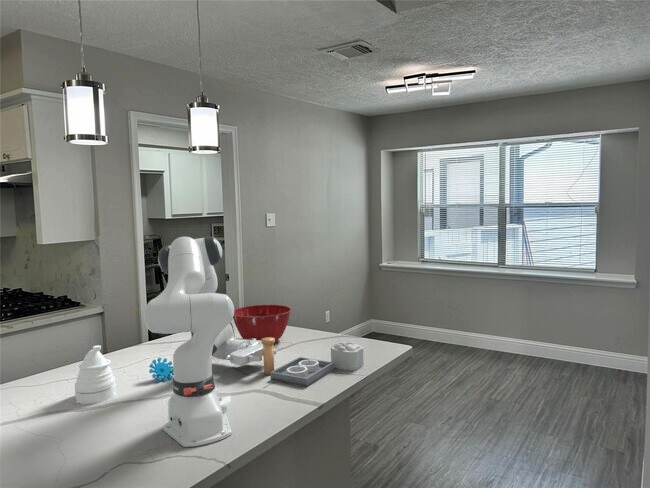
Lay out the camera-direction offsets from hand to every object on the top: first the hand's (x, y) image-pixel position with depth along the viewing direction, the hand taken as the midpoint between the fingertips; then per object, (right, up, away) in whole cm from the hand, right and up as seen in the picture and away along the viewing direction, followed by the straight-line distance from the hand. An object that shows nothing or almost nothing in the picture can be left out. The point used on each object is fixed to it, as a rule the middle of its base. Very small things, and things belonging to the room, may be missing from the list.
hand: (268, 355), depth 186 cm
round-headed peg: (0, -7, +1) cm, 7 cm away
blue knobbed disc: (-39, -8, -2) cm, 41 cm away
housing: (+14, -7, -3) cm, 15 cm away
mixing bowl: (-8, -4, +45) cm, 46 cm away
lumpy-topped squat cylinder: (+31, -6, +8) cm, 32 cm away
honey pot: (-58, -10, -18) cm, 62 cm away
